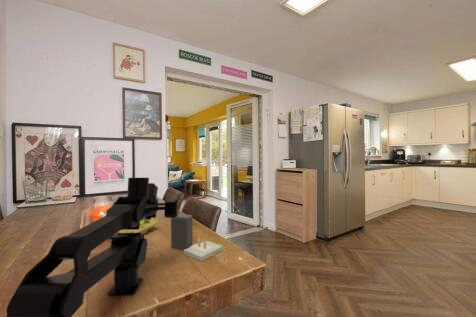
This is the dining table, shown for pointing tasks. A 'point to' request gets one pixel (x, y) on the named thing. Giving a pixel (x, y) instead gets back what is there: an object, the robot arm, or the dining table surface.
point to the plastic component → (141, 226)
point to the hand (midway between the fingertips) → (159, 205)
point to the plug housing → (181, 231)
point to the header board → (203, 250)
